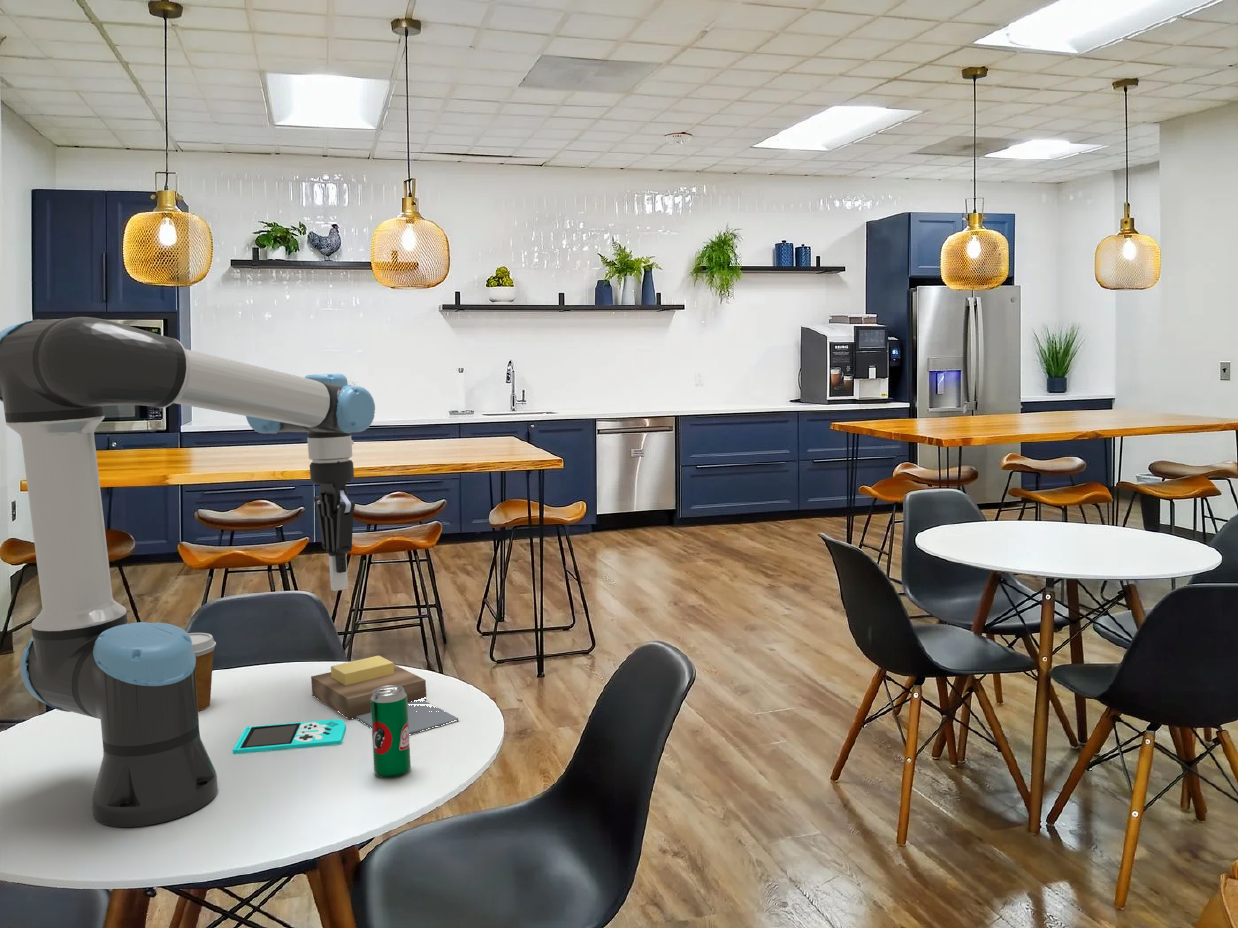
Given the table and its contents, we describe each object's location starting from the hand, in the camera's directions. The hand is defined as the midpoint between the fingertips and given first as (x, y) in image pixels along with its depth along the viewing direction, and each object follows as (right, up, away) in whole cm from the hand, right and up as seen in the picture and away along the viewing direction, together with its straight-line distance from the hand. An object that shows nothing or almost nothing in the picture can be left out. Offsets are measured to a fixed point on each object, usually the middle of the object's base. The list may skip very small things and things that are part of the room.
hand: (339, 589), depth 175 cm
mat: (+16, -19, -18) cm, 31 cm away
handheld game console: (0, -21, -24) cm, 32 cm away
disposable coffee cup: (-23, -19, -9) cm, 31 cm away
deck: (+7, -18, -7) cm, 20 cm away
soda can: (+19, -21, -38) cm, 47 cm away
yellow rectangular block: (+6, -15, -5) cm, 16 cm away
